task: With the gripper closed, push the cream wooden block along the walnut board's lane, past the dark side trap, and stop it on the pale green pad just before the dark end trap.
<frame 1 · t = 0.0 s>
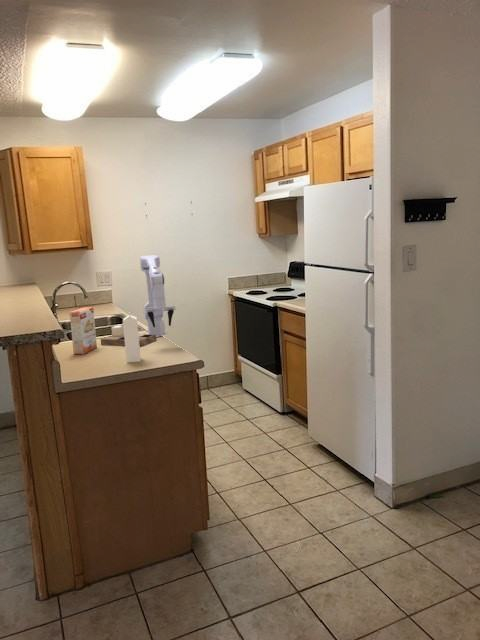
hand: (162, 326, 258), 11 cm above the counter, tool pointing down, fingers open, 7 cm apart
cracker box: (86, 351, 263), on the counter
block: (118, 334, 283), point 3 cm above the counter, touching trap board
trap board: (128, 342, 276), on the counter
milk: (133, 360, 238), on the counter
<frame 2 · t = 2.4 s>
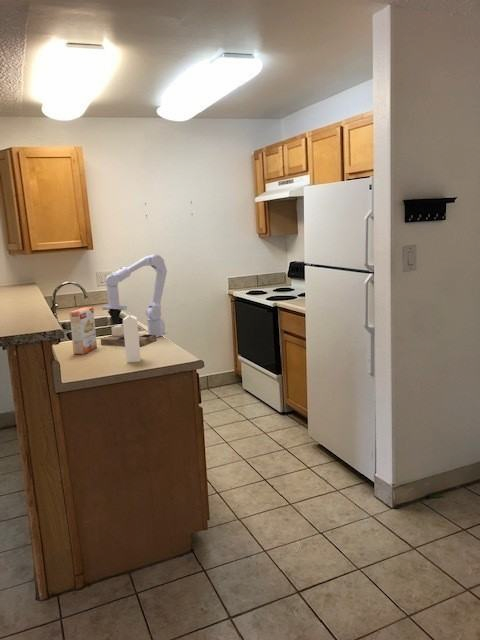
hand: (115, 323, 280), 10 cm above the counter, tool pointing down, fingers closed
nothing on the counter moved.
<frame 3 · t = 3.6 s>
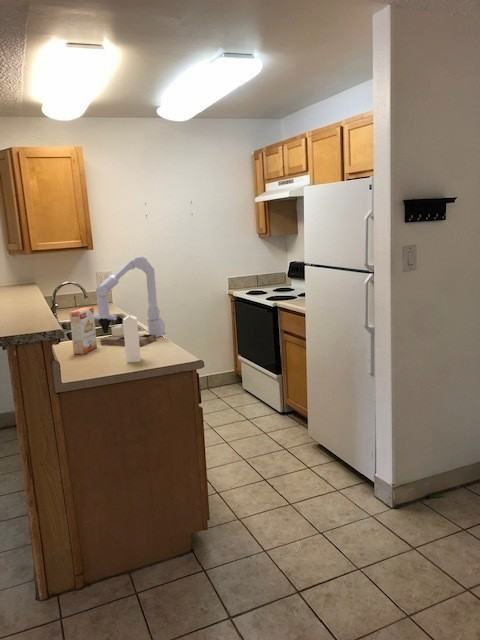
hand: (106, 332, 286), 4 cm above the counter, tool pointing down, fingers closed
nothing on the counter moved.
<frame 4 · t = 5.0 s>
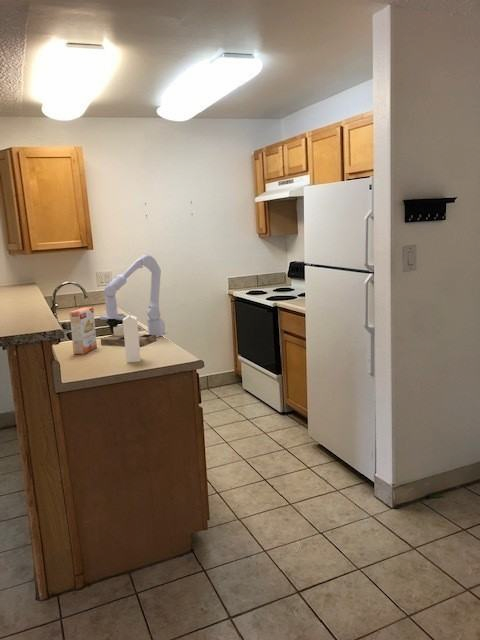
hand: (114, 333, 284), 4 cm above the counter, tool pointing down, fingers closed
block: (119, 334, 282), point 3 cm above the counter, touching gripper, trap board
everything else where it was.
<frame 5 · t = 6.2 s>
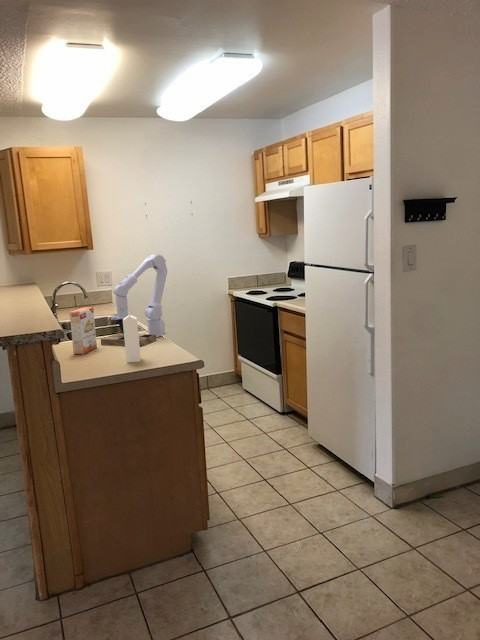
hand: (124, 333, 281), 4 cm above the counter, tool pointing down, fingers closed
block: (130, 335, 279), point 3 cm above the counter, touching gripper, trap board
everything else where it was.
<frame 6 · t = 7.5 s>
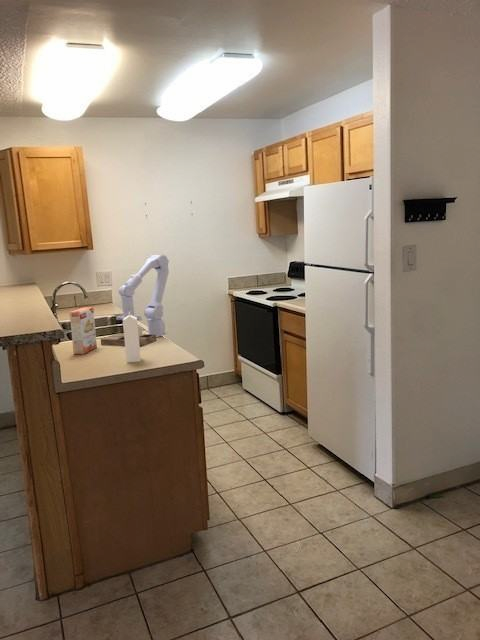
hand: (130, 333, 279), 4 cm above the counter, tool pointing down, fingers closed
block: (136, 335, 278), point 3 cm above the counter, touching gripper, trap board
everything else where it was.
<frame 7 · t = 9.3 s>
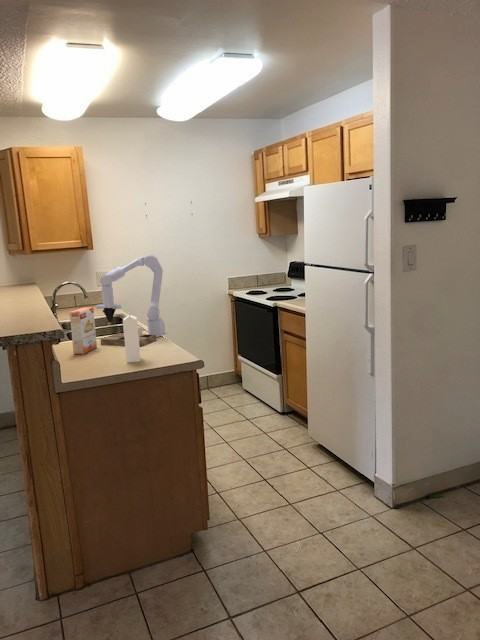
hand: (110, 322, 286), 9 cm above the counter, tool pointing down, fingers closed
block: (136, 335, 278), point 3 cm above the counter, touching trap board
everything else where it was.
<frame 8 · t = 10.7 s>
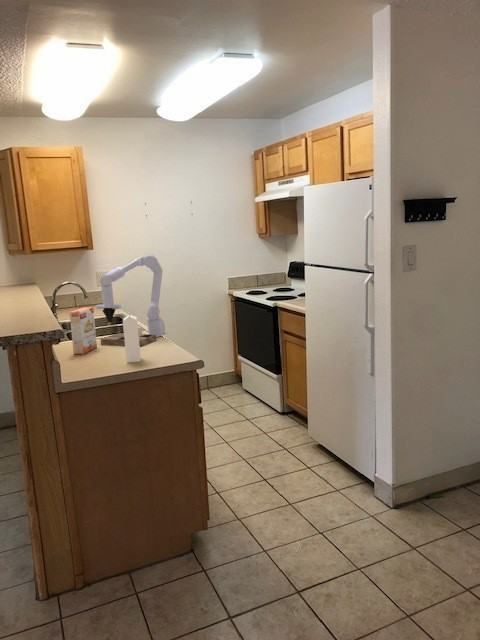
hand: (110, 322, 286), 9 cm above the counter, tool pointing down, fingers closed
nothing on the counter moved.
at the end: block inside the target area on the trap board (0.6 cm from its centre), point 3.0 cm above the trap board's base; block tilted 0° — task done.
